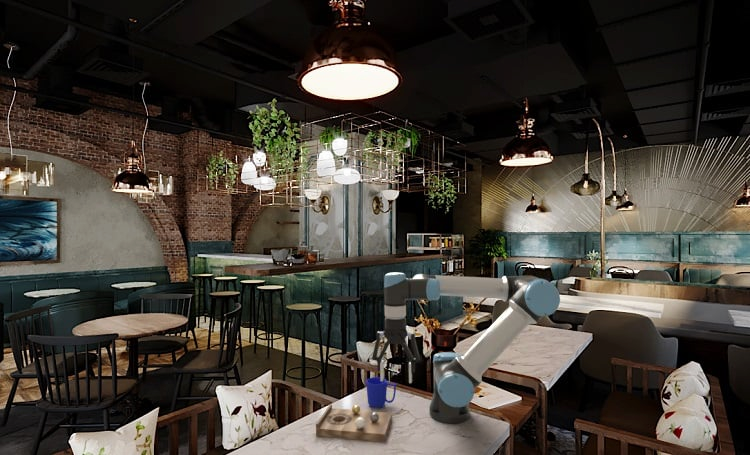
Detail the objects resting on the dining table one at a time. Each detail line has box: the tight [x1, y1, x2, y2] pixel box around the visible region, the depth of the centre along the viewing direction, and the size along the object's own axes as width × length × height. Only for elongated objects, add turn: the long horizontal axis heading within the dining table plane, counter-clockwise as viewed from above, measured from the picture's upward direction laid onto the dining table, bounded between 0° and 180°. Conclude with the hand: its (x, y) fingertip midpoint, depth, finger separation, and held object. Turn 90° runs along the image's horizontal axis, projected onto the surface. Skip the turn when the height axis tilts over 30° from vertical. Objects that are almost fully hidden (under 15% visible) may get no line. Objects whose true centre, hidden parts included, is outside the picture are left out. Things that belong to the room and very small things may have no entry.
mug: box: [365, 376, 397, 409], centre depth 161 cm, size 8×12×10 cm
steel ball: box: [370, 411, 379, 422], centre depth 142 cm, size 3×3×3 cm
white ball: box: [355, 417, 365, 429], centre depth 138 cm, size 4×4×4 cm
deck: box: [315, 403, 393, 443], centre depth 144 cm, size 24×16×4 cm, turn 79°
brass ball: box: [351, 404, 361, 414], centre depth 149 cm, size 3×3×3 cm
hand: (396, 380), depth 141 cm, fingers open, 9 cm apart
